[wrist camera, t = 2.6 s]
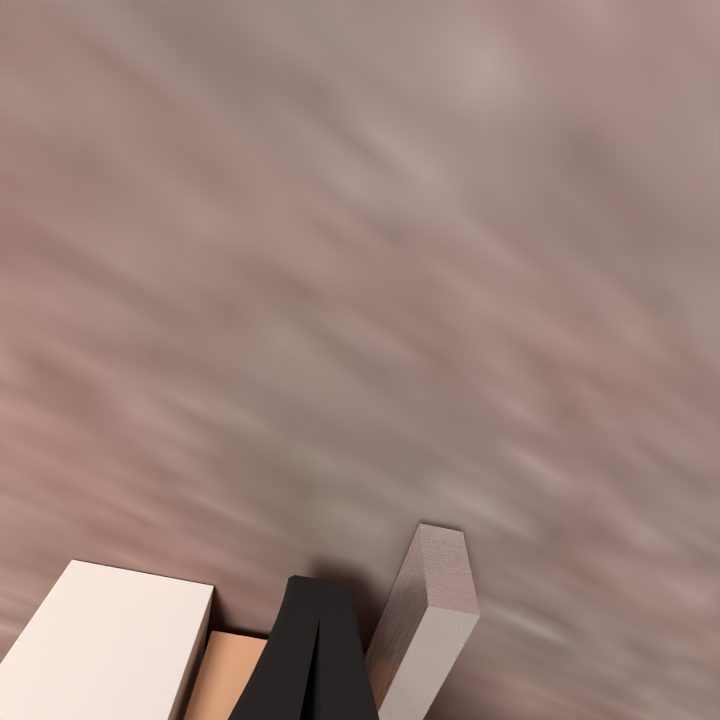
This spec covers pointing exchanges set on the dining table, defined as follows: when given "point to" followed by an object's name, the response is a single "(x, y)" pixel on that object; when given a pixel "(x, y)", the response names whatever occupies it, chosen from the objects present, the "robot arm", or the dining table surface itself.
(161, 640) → the socket block
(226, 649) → the light orange square block
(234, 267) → the dining table surface
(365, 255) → the dining table surface
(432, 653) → the bar
